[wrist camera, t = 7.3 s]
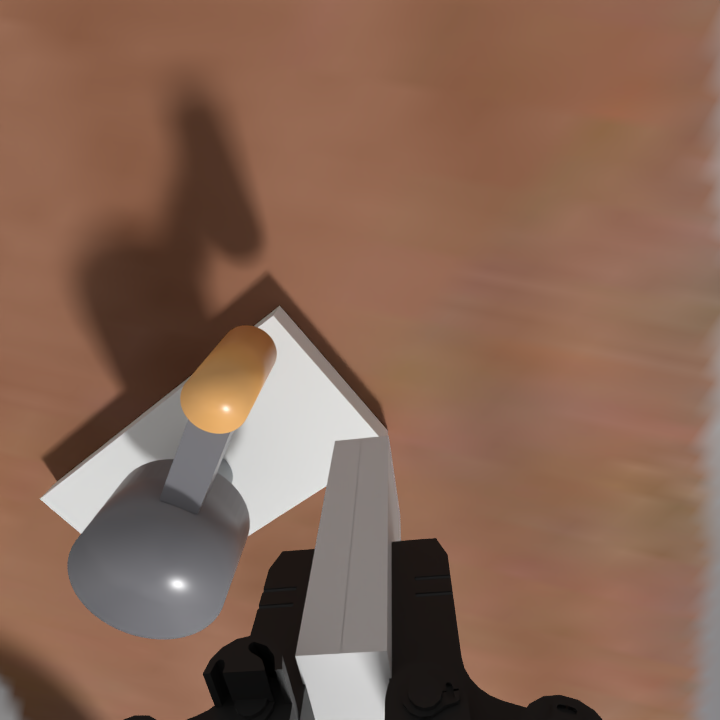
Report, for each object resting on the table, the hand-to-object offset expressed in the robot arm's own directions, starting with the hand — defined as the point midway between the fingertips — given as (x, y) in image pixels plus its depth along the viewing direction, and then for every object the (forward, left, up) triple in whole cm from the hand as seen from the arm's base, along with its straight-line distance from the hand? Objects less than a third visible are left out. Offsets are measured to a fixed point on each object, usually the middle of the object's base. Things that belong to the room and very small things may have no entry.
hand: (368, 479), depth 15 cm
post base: (-16, -2, -18) cm, 25 cm away
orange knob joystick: (-12, 0, -13) cm, 18 cm away
